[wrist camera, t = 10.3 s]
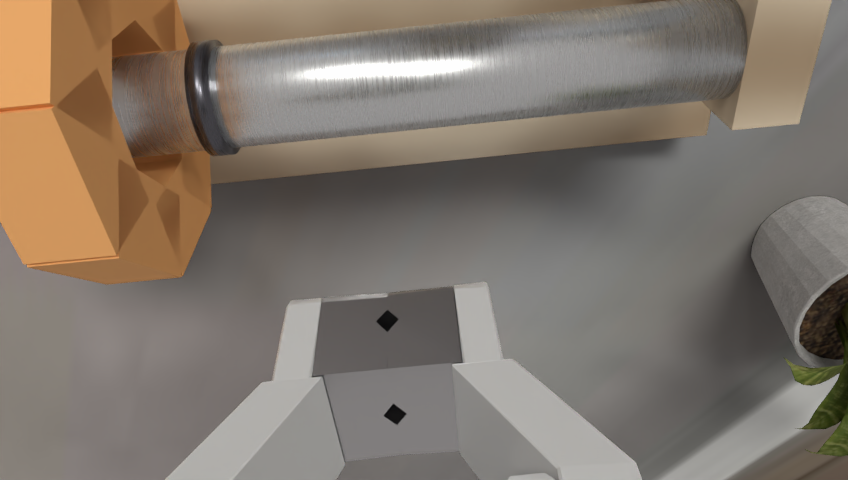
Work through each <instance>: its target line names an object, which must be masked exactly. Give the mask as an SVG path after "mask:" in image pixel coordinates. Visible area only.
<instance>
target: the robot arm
mask: <svg viewBox="0 0 848 480" xmlns="http://www.w3.org/2000/svg"><path fill="white" fill-rule="evenodd" d="M454 451H460V455H461V456H462V457H463V459H464V460H465V461H466V463H467V464H468V465H469V466H470V468H471V469H472V470H473V472H474V473H475V474H476V475H477V477H478V478H479V479H480V480H642V478H641V475H640V472H639V470H638V467H637V464H636V462H635V461H634V460H632V459H631V458H630V457H629V456H628V455H627V454H625V453H624V452H623V451H622V450H621V449H619V448H618V447H617V446H616V445H615V444H614V443H612V442H611V441H610V440H609V439H608V438H606V437H605V436H604V435H603V434H602V433H601V432H599V431H598V430H597V429H596V428H595V427H593V426H592V425H591V424H590V423H589V422H588V421H586V420H585V419H584V418H583V417H582V416H581V415H579V414H578V413H577V412H576V411H575V410H573V409H572V408H571V407H570V406H569V405H568V404H566V403H565V402H564V401H563V400H562V399H560V398H559V397H558V396H557V395H556V394H555V393H553V392H552V391H551V390H550V389H549V388H547V387H546V386H545V385H544V384H543V383H542V382H540V381H539V380H538V379H537V378H536V377H534V376H533V375H532V374H531V373H530V372H529V371H527V370H526V369H525V368H524V367H523V366H521V365H520V364H519V363H518V362H517V361H516V360H514V359H503V355H502V350H501V346H500V341H499V336H498V331H497V326H496V321H495V316H494V311H493V306H492V301H491V296H490V291H489V286H488V284H487V283H486V282H478V283H469V284H461V285H454V286H453V287H452V286H449V287H440V288H430V289H420V290H410V291H400V292H391V293H376V294H362V295H348V296H335V297H324V298H315V299H302V300H291V301H290V303H289V304H288V306H287V307H286V312H285V317H284V322H283V327H282V332H281V337H280V342H279V347H278V352H277V357H276V362H275V368H274V373H273V378H272V381H269V382H262V383H261V384H260V385H259V386H258V387H257V388H256V389H255V390H254V391H253V392H252V393H251V394H250V395H249V396H248V397H247V398H246V399H245V400H244V401H243V402H242V403H241V404H240V405H239V406H238V407H237V408H236V409H235V410H234V411H233V412H232V413H231V414H230V415H229V416H228V417H227V418H226V419H225V420H224V421H223V422H222V423H221V424H220V425H219V426H218V427H217V428H216V429H215V430H214V431H213V432H212V433H211V434H210V435H209V436H208V437H207V438H206V439H205V440H204V441H203V442H202V443H201V444H200V445H199V446H198V447H197V448H196V449H195V450H194V451H193V452H192V453H191V454H190V455H189V456H188V457H187V458H186V459H185V460H184V461H183V462H182V463H181V464H180V465H179V466H178V467H177V468H176V469H175V470H174V471H173V472H172V473H171V474H170V475H169V476H168V477H167V478H166V479H165V480H336V479H337V477H338V476H339V474H340V473H341V471H342V470H343V468H344V466H345V462H347V461H355V460H363V459H372V458H380V457H388V456H397V455H408V454H424V453H439V452H454Z"/></svg>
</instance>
